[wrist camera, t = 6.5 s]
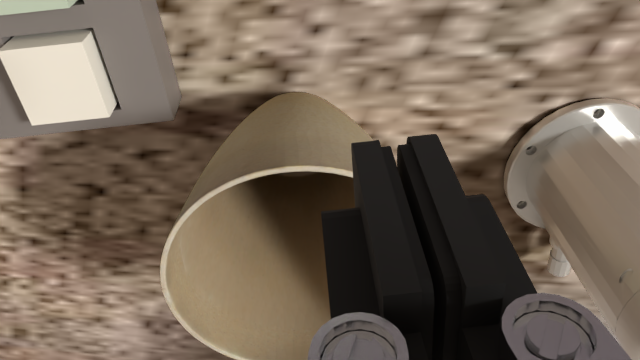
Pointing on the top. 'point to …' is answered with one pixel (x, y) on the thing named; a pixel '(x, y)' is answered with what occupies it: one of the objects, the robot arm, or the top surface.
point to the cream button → (60, 76)
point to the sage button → (32, 5)
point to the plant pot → (262, 231)
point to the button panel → (120, 58)
